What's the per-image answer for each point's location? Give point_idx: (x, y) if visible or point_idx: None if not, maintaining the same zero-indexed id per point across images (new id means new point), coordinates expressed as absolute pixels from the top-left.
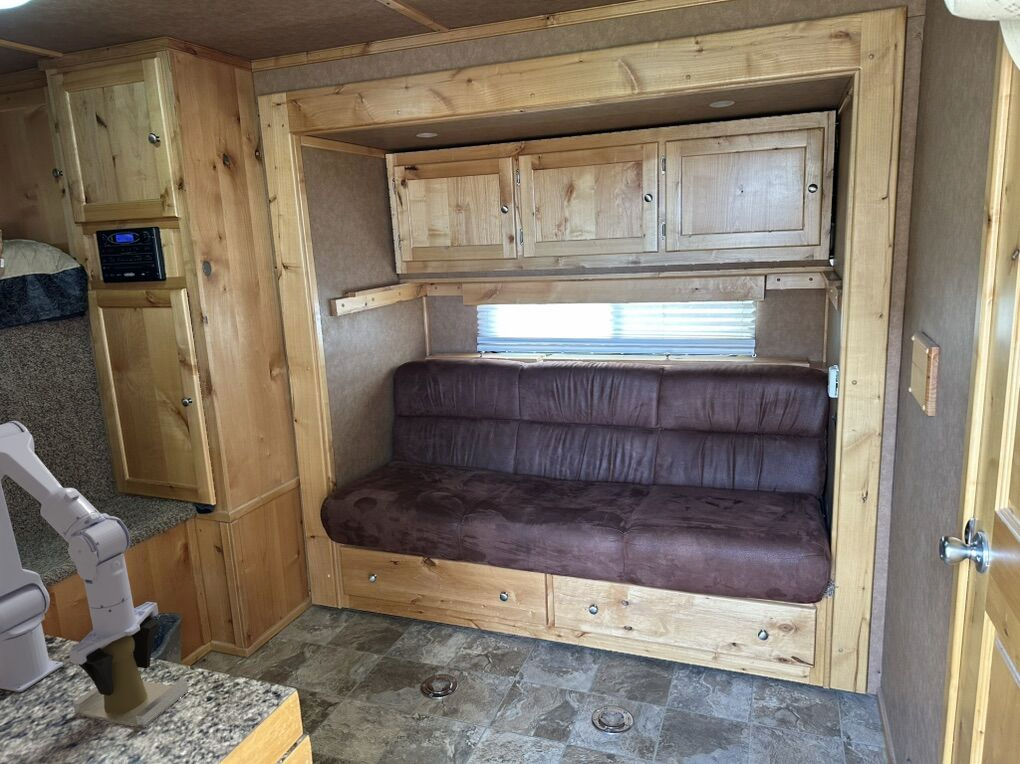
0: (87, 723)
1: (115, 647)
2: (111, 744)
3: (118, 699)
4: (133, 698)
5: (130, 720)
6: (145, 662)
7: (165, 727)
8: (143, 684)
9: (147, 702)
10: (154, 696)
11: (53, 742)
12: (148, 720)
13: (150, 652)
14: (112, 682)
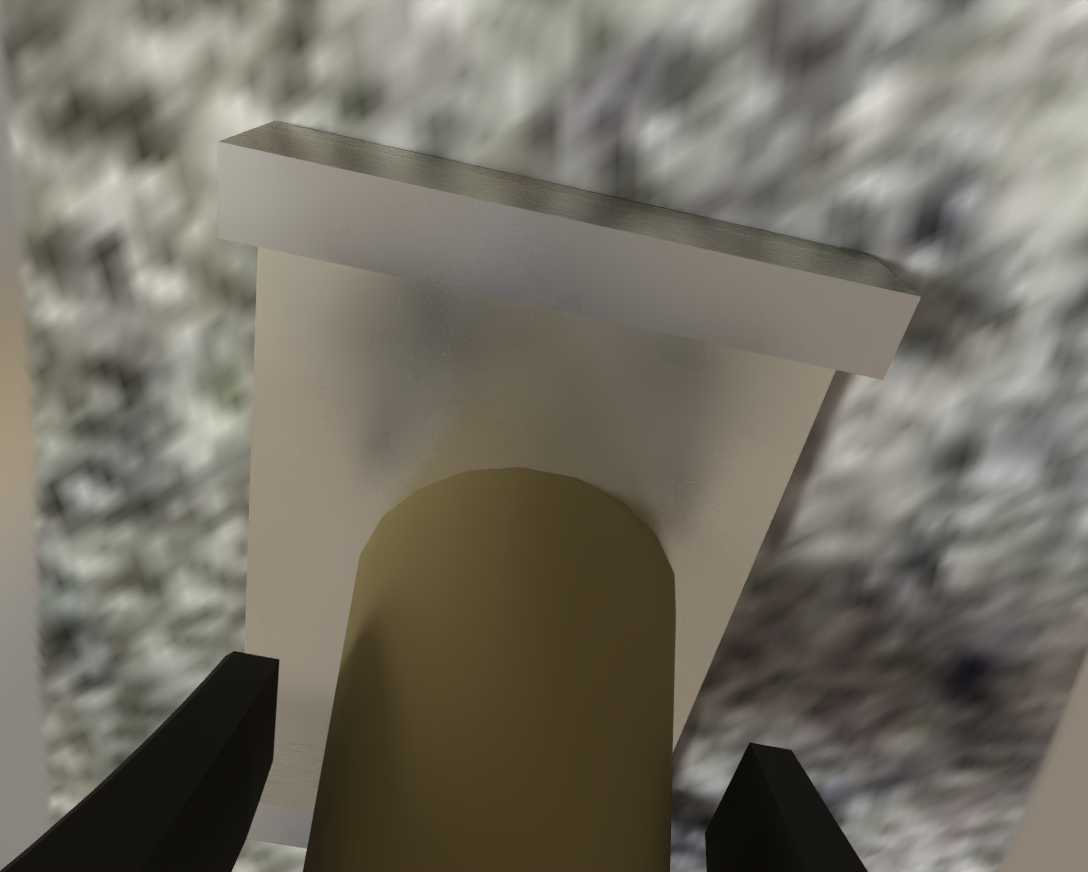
0: (733, 712)
1: None
2: (1041, 423)
3: (670, 656)
4: (595, 549)
5: (781, 433)
6: (250, 726)
7: (884, 21)
8: (408, 571)
9: (523, 430)
10: (429, 418)
11: (911, 788)
12: (820, 254)
13: (123, 785)
14: (811, 862)
